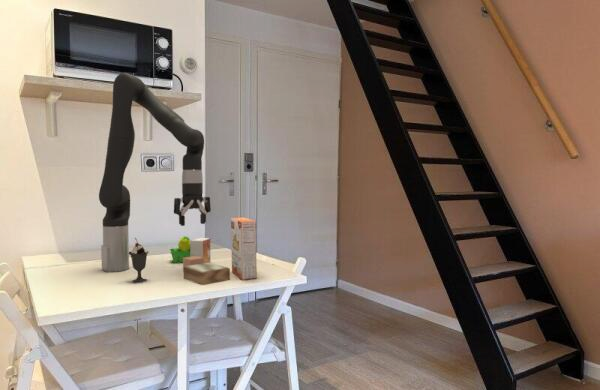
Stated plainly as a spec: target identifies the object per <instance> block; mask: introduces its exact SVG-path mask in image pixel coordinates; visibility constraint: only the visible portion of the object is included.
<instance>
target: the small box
mask: <svg viewBox="0 0 600 390" xmlns="http://www.w3.org/2000/svg"><path fill="white" fill-rule="evenodd" d="M192 256H198V257H202V258H203V263H209V262H210V263H211V238H209V237H197V238H194V239H193V240H190V257H192Z"/></svg>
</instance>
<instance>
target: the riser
mask: <svg viewBox="0 0 600 390" xmlns="http://www.w3.org/2000/svg"><path fill="white" fill-rule="evenodd" d="M230 273H231V270H230V268H229V267H228V266H224V265H220V264H218V263H217V264H216V263H213V262H211V261H210V262H209V263H202V264H196V265H190V266H185V267H184V272H183V279H185V280H189V281H191V282H194V283H197V284H199V285H201V286H203V285H208V284H214V283H219V282H224V281H230V280H231V277H230V275H231V274H230Z"/></svg>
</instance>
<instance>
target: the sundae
mask: <svg viewBox="0 0 600 390" xmlns="http://www.w3.org/2000/svg"><path fill="white" fill-rule="evenodd" d="M134 240H137V238H136V237H134ZM134 245H135V246H133V249H132V250H131V251H129V256H130V257H131V263H132V267H133V268H132V269H134V270H135V271H136V272H137V277H136V278H134V279H133V280H131V282H132V283H135V284H136V283H137V284H138V283H145V282H147V281H148V280H147V279H146V278H143V277H142V271H143V270H145V268H146V265H147V257H148V254H149V253H150V252H149V251H148V250H146V249H145V248H144V245H142V244H140V243H139V241H136V242H135V244H134Z"/></svg>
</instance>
